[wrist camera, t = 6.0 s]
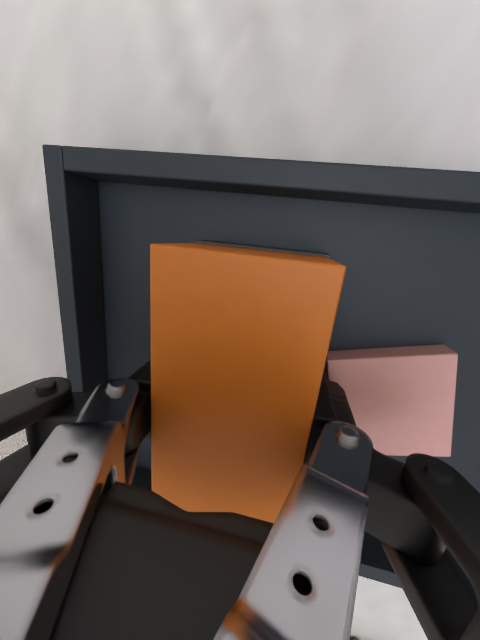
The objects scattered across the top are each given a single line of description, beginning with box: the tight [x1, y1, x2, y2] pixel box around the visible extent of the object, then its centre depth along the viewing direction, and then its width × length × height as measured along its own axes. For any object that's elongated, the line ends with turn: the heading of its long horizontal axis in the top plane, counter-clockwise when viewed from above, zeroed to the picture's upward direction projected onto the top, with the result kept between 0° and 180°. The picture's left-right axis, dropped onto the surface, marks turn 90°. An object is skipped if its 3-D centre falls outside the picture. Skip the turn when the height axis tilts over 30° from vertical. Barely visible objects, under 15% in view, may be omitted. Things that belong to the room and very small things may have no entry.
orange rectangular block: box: [150, 240, 346, 523], centre depth 10 cm, size 5×11×5 cm, turn 174°
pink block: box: [325, 344, 458, 457], centre depth 11 cm, size 4×4×1 cm
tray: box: [43, 145, 480, 597], centre depth 11 cm, size 24×17×2 cm
